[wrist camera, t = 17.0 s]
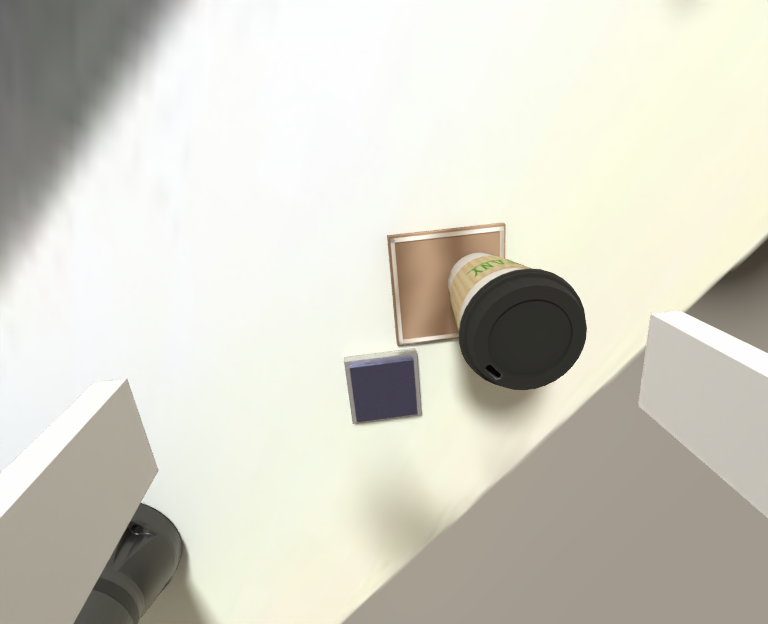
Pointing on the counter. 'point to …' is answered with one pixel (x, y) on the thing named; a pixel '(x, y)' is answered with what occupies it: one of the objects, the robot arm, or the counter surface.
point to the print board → (433, 277)
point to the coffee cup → (515, 321)
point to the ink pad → (383, 385)
